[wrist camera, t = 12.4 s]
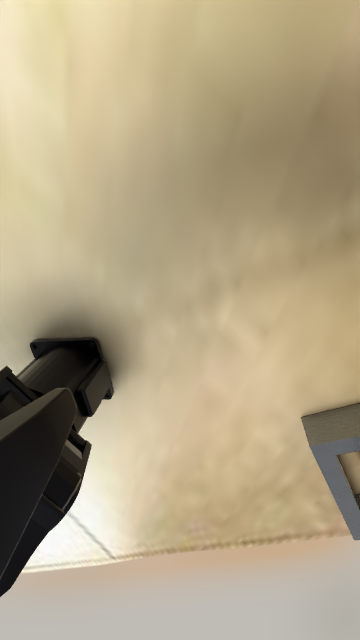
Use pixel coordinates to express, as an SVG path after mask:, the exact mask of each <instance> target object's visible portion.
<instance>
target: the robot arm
mask: <svg viewBox="0 0 360 640" xmlns="http://www.w3.org/2000/svg"><path fill="white" fill-rule="evenodd" d="M91 343H93V344H94V345H92V344H91ZM36 345H37V346H36ZM30 348H31V350H32V353H33V355H34V357H35V359H34V360H33V361H32V362H31V363H30V364H29V365H28V366H27V367H26V368H25V369H23V370H22V371H21V372H20V373H19V374H18V375H17V376H15V375H14V374H13V373H12V370H11V369H10V368H9V367H8V366H6V367H4V368H3V369H2V370H1V371H0V597H1V596H2V595H3V594H4V593H5V592H7V591H8V590H9V589H10V588H11V587H12V585H13V584H14V582H15V581H16V579H17V577H18V576H19V574H20V573H21V571H22V569H23V568H24V566H25V565H26V563H27V562H28V560H29V558H30V557H31V556H32V554H33V553H34V551H35V550H36V548H37V547H38V545H39V544H40V543H41V541H42V540H43V539H44V538H45V536H46V535H47V534H48V532H49V531H50V530H52V529H53V528H54V527H55V526H56V525H57V524H58V523H59V522H60V521H61V520H62V519H63V517H64V516H65V515H66V514H67V512H68V511H69V509H70V508H71V506H72V505H73V503H74V501H75V499H76V497H77V495H78V493H79V490H80V488H81V484H82V480H83V476H84V473H85V469H86V465H87V461H88V458H89V454H90V450H91V446H92V444H90V443H89V442H88V441H87V440H86V441H85V440H84V439H83V438H82V437H81V436H80V435H79V434H78V433H79V431H80V429H81V428H82V426H83V424H84V423H85V421H86V419H87V418H88V417H92V416H93V415H94V413H95V411H96V410H97V408H98V406H99V405H100V403H101V401H102V400H103V399H107V400H108V399H111V398H112V396H113V390H112V386H111V384H112V382H111V379H110V376H109V372H108V369H107V365H106V362H105V361H104V359H103V356H102V352H101V349H100V345H99V342H98V340H97V339H95V338H68V339H41V340H34V341H32V342H31V343H30ZM108 394H109V395H108Z"/></svg>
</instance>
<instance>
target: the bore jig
mask: <svg viewBox="0 0 360 640" xmlns="http://www.w3.org/2000/svg"><path fill="white" fill-rule="evenodd" d="M301 419H302V422H303V426H304V429H305V433H306V436H307V439H308V443H309V446H310V448H311V450H312V453H313V455H314V457H315V459H316V461H317V463H318V465H319V467H320V469H321V471H322V474H323V476H324V478H325V480H326V482H327V484H328V486H329V488H330V490H331V492H332V494H333V497H334V499H335V501H336V503H337V505H338V507H339V509H340V511H341V513H342V515H343V518H344V520H345V522H346V524H347V526H348V528H349V530H350V532H351V534H352V536H353V539H354V540H360V495H357V496H355V495H354V493H353V490H352V488H351V486H350V484H349V481H348V479H347V477H346V474H345V472H344V470H343V468H342V465H341V463H340V461H339V458H338V456H337V455H339V454H345V453H350V452H355V451H360V403H359V404H355V405H351V406H346V407H342V408H338V409H334V410H330V411H326V412H322V413H318V414H313V415H309V416H305V417H301Z"/></svg>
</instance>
